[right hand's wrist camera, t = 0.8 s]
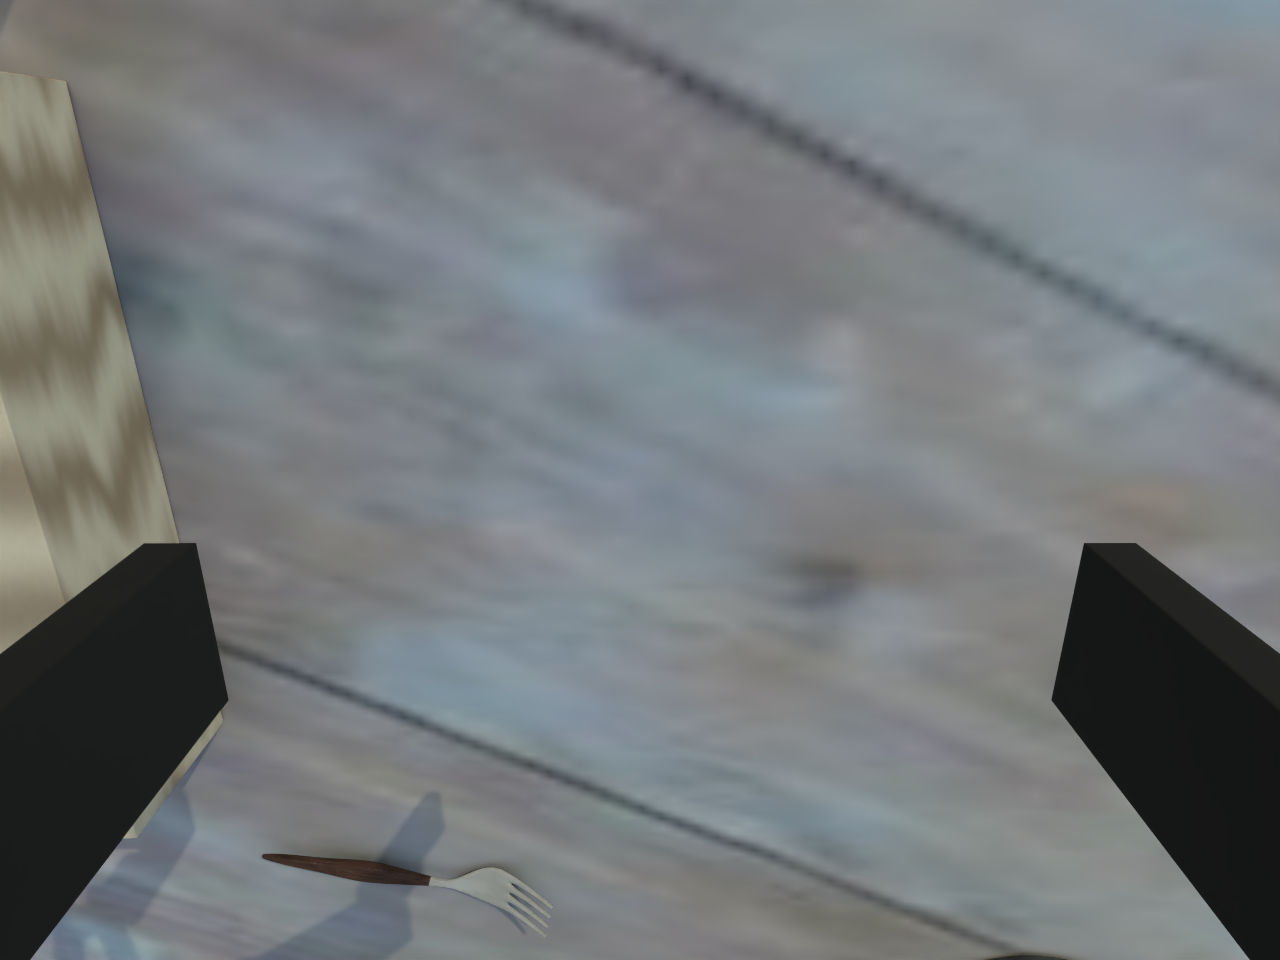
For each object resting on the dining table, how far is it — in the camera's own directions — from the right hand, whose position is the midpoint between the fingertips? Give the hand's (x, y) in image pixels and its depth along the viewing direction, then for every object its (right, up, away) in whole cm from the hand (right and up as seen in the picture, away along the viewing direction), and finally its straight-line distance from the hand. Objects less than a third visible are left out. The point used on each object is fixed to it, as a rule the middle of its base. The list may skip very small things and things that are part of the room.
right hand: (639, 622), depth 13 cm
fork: (-13, -19, +34) cm, 41 cm away
